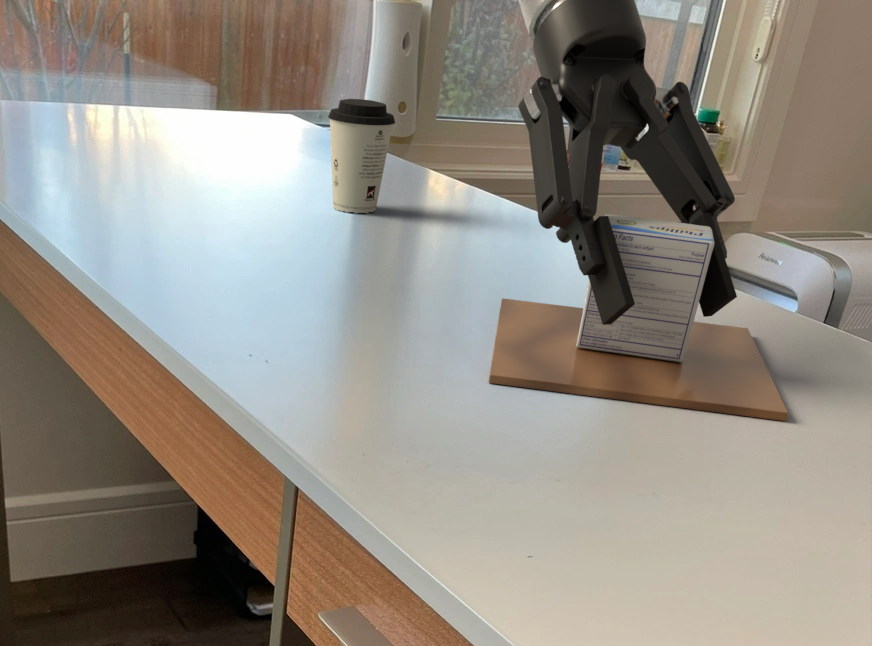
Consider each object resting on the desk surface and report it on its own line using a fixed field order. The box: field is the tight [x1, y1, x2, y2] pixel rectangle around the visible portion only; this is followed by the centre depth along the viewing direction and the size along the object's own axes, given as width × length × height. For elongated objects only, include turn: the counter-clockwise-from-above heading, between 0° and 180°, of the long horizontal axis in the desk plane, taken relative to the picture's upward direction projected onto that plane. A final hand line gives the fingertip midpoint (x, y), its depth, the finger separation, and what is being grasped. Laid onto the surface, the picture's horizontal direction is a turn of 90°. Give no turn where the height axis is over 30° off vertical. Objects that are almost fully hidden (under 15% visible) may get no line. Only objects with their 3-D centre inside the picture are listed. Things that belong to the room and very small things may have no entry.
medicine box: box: [576, 213, 714, 362], centre depth 81 cm, size 8×4×9 cm, turn 76°
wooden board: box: [488, 298, 789, 422], centre depth 83 cm, size 20×20×1 cm
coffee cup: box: [327, 98, 396, 214], centre depth 116 cm, size 7×7×10 cm
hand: (670, 310), depth 79 cm, fingers closed on medicine box, 9 cm apart
